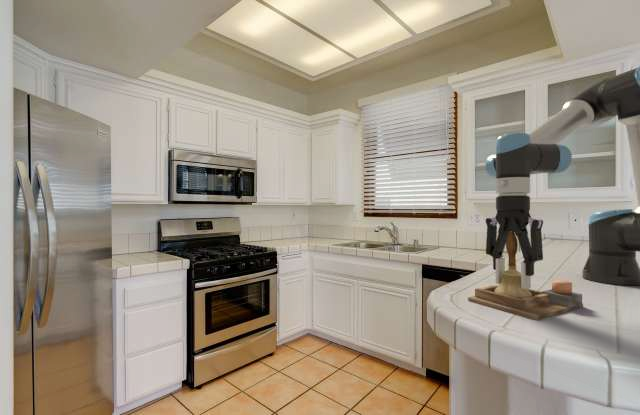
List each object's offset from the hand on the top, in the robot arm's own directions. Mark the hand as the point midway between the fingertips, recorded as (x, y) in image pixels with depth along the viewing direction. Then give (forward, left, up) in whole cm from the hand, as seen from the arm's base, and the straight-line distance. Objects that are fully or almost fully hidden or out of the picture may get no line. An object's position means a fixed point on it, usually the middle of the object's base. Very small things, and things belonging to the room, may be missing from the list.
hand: (512, 285), depth 84 cm
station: (-1, +2, -4) cm, 5 cm away
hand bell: (0, 0, -2) cm, 2 cm away
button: (-8, +7, -1) cm, 11 cm away
